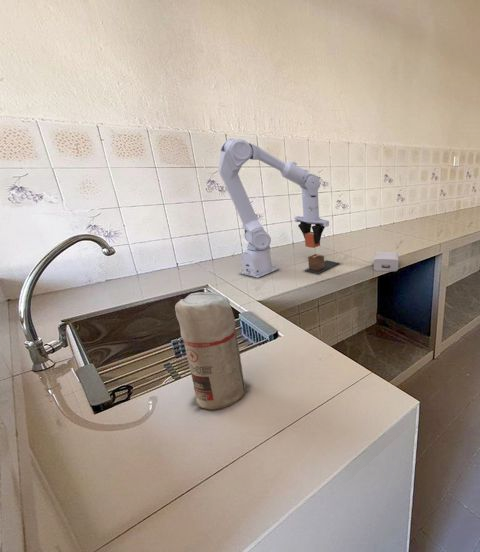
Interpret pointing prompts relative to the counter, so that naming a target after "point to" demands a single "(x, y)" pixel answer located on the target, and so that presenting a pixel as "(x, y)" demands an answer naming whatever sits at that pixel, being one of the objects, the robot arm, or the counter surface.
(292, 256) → the counter surface
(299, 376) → the counter surface
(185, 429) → the counter surface
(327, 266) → the small dark keyboard
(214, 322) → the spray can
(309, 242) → the orange block
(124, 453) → the counter surface
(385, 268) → the charger
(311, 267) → the brown block
